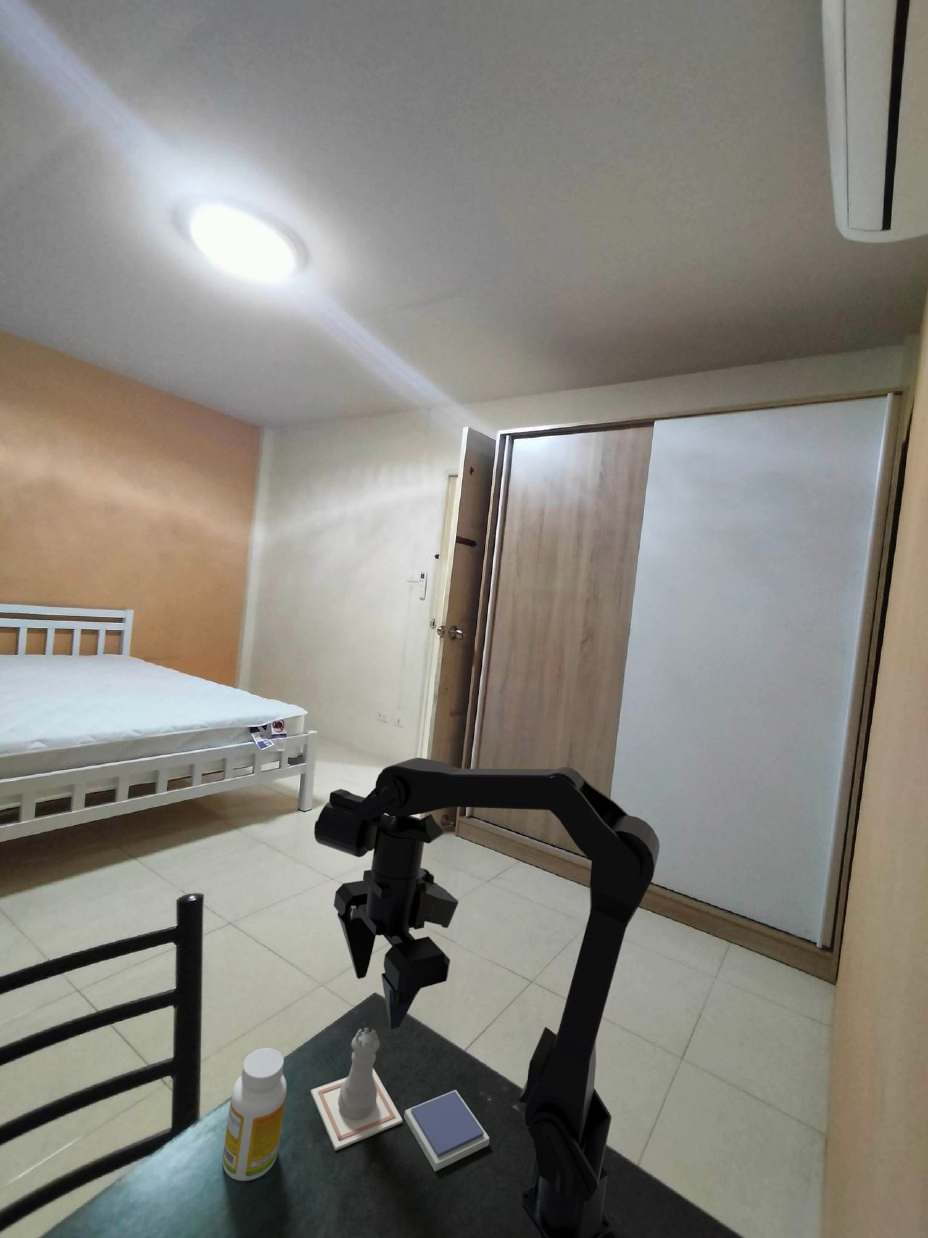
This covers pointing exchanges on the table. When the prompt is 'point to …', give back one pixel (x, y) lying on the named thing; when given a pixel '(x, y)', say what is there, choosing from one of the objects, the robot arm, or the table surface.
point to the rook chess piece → (360, 1077)
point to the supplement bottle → (255, 1116)
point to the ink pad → (446, 1129)
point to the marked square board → (349, 1129)
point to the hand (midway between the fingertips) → (376, 1001)
